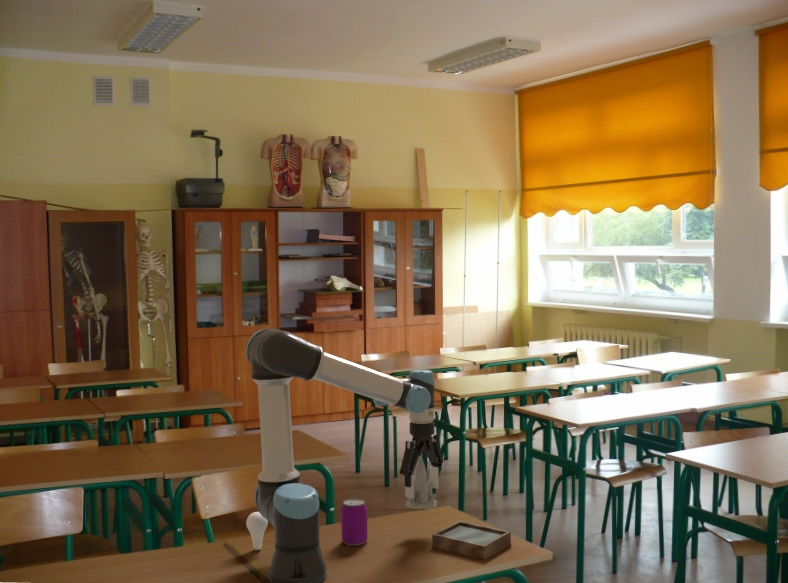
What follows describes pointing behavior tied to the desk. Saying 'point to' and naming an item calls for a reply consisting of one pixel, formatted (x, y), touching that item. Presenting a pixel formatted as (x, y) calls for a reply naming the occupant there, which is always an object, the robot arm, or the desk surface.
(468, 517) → the desk surface
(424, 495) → the crystal
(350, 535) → the beverage can
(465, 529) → the wooden tray
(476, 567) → the desk surface
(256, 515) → the lightbulb
